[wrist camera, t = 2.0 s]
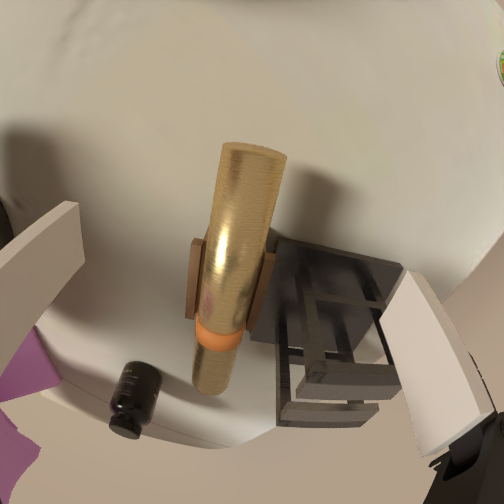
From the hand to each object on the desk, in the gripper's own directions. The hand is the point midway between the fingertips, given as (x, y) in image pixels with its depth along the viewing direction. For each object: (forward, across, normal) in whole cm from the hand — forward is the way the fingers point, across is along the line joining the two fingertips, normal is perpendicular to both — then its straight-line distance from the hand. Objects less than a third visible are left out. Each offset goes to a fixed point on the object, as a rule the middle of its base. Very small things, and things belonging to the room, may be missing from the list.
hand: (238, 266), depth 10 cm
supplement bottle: (+16, +12, +36) cm, 41 cm away
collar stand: (+16, -10, +14) cm, 23 cm away
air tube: (+9, 0, +10) cm, 13 cm away
